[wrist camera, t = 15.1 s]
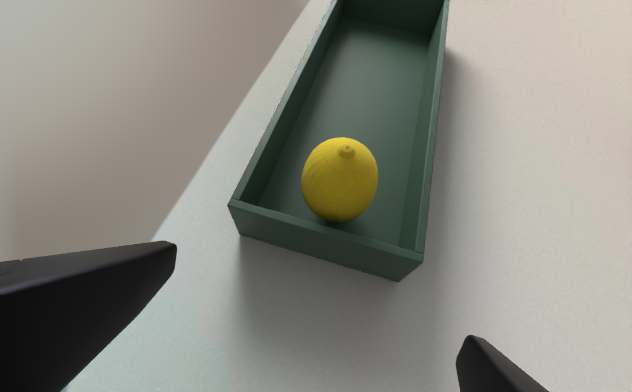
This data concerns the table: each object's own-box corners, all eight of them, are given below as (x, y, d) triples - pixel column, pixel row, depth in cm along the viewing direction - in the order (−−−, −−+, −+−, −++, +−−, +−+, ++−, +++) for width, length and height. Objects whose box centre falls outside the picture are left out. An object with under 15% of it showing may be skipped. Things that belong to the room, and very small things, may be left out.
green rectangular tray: (398, 282, 23) (423, 263, 18) (239, 234, 24) (226, 205, 19) (433, 38, 40) (450, -3, 35) (339, 16, 41) (344, -25, 36)
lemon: (366, 239, 24) (396, 187, 17) (298, 236, 23) (299, 182, 16) (363, 182, 26) (387, 117, 19) (302, 178, 26) (304, 112, 19)
